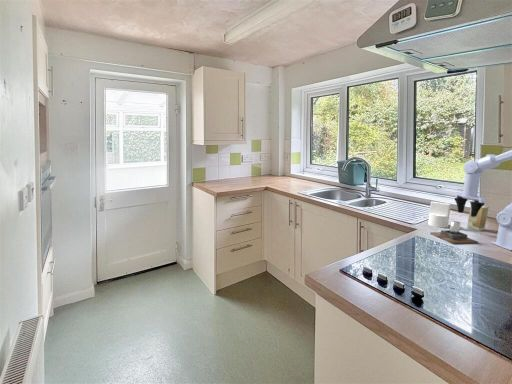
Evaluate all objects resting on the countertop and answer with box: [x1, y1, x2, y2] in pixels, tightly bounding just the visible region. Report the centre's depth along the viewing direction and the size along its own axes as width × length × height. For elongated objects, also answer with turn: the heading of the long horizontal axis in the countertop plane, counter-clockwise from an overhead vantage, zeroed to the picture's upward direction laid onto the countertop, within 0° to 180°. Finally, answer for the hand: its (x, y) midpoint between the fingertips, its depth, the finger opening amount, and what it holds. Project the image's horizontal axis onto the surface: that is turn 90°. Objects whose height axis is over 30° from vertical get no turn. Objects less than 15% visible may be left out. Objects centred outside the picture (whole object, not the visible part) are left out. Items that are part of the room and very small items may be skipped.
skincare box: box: [466, 205, 489, 232], centre depth 153 cm, size 6×4×12 cm
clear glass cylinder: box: [449, 220, 461, 235], centre depth 137 cm, size 4×4×7 cm
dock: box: [430, 229, 479, 245], centre depth 138 cm, size 14×12×3 cm
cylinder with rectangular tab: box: [427, 201, 452, 229], centre depth 159 cm, size 9×9×12 cm
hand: (466, 214), depth 145 cm, fingers open, 7 cm apart
